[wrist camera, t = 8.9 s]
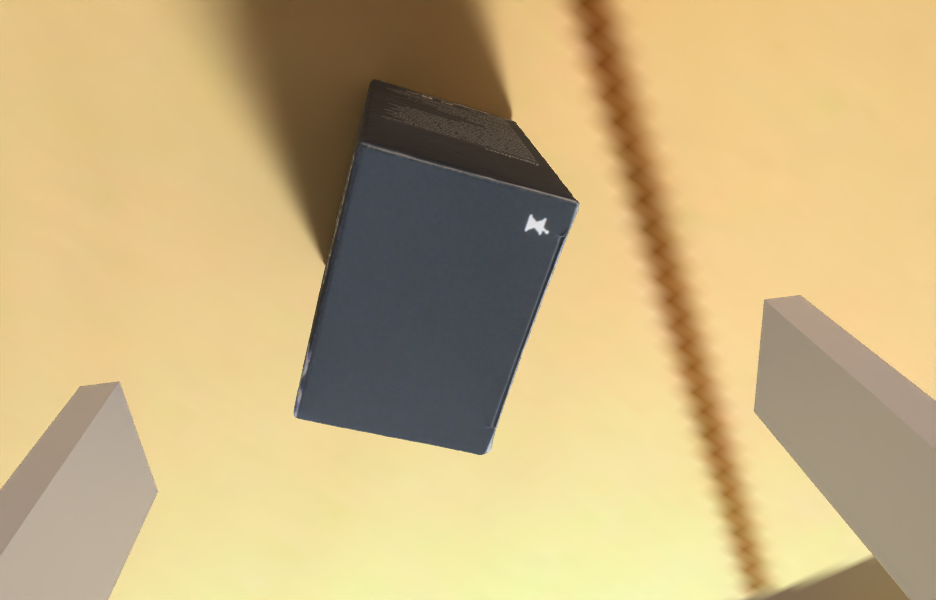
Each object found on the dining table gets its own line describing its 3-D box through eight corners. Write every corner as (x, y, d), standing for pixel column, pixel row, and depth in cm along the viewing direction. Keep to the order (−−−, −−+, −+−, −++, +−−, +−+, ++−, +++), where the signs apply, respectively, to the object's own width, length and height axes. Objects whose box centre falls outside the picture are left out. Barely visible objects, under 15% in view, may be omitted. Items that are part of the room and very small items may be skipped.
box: (368, 75, 25) (357, 135, 16) (517, 119, 26) (592, 201, 17) (321, 272, 28) (287, 425, 19) (457, 304, 29) (491, 463, 20)
